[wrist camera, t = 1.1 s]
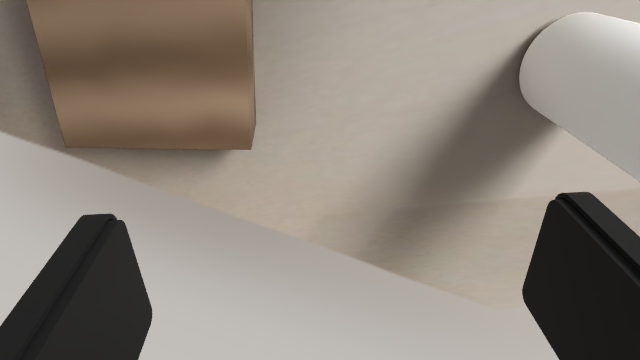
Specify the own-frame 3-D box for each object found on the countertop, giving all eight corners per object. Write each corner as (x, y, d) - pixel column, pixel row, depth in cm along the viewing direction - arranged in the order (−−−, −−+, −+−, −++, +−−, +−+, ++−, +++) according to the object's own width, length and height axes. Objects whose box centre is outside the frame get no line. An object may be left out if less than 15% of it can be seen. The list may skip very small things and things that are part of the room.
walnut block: (56, -63, 31) (8, -64, 26) (250, -54, 32) (243, -53, 27) (96, 119, 38) (65, 147, 33) (256, 121, 39) (250, 149, 34)
